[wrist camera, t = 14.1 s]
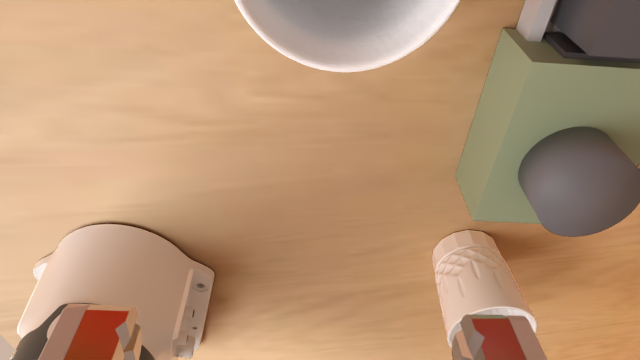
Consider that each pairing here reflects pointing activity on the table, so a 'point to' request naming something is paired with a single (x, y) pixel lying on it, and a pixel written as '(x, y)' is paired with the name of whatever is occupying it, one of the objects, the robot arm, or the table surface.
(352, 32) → the mug
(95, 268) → the robot arm
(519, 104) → the green box with dome
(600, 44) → the tall grey rectangular block
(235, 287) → the table surface
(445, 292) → the white cup
